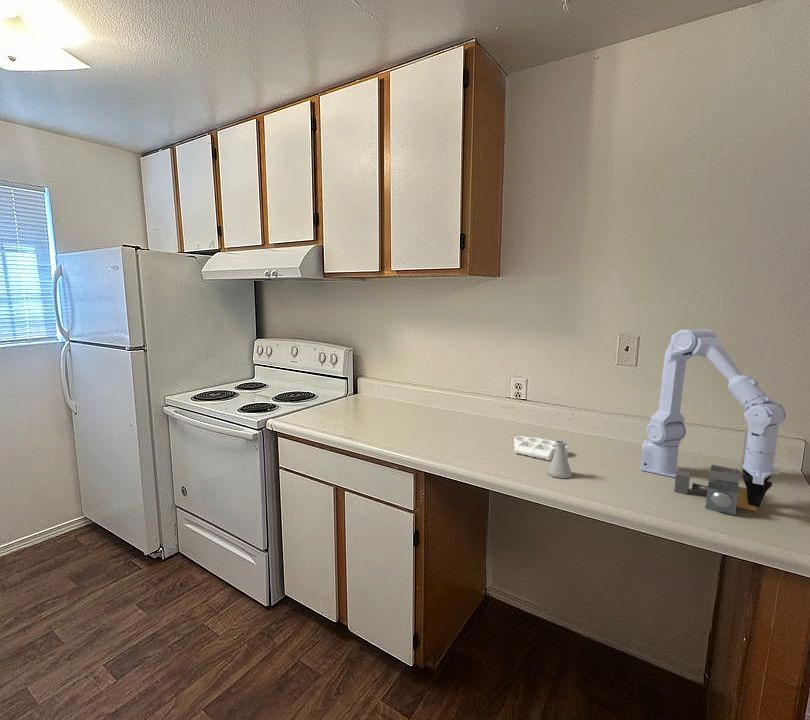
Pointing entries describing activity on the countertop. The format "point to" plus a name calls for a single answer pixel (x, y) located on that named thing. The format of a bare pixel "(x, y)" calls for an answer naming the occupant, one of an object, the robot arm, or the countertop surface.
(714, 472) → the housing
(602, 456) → the countertop surface
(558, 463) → the flask
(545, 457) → the white egg tray
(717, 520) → the countertop surface
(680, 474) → the bar with block ends
